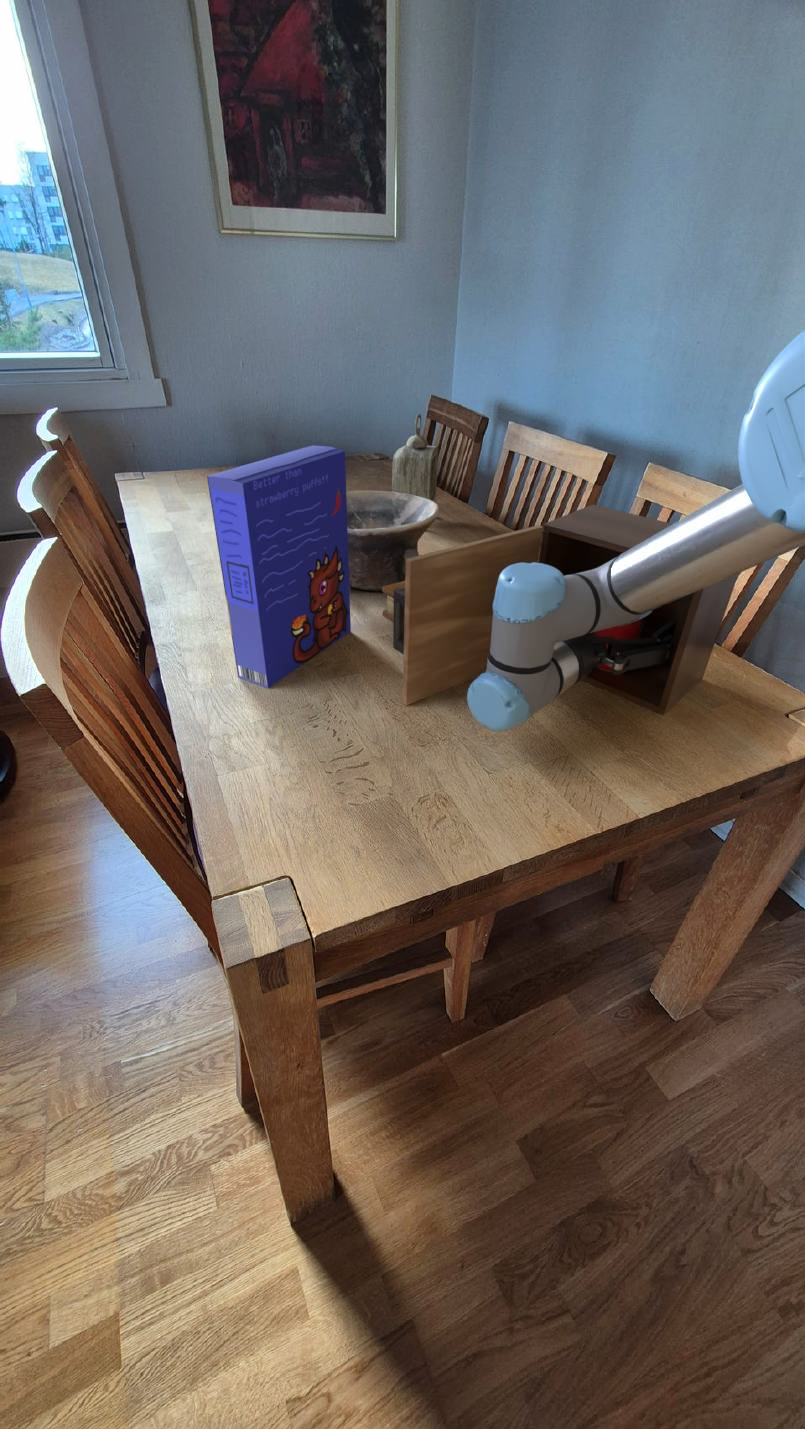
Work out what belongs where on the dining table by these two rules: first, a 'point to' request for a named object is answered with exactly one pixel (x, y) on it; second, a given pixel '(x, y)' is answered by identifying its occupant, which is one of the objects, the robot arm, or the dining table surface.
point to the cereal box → (283, 558)
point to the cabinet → (698, 615)
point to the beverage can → (621, 635)
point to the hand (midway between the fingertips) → (629, 614)
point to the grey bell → (416, 467)
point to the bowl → (384, 535)
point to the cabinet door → (453, 610)
